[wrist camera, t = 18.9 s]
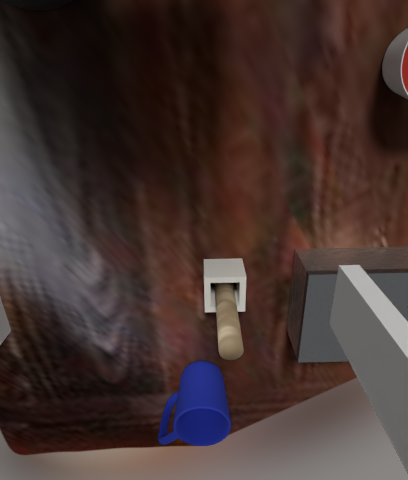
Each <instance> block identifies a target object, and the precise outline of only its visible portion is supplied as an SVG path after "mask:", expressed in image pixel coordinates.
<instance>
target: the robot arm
mask: <svg viewBox="0 0 408 480" xmlns="http://www.w3.org/2000/svg"><path fill="white" fill-rule="evenodd" d="M1 1H3V2H5V3H8V4H10V5H13V6H15V7H18V8H21V9H25V10H31V11H49V10H54V9H57V8H60V7H63V6H65V5H67V4H69V3H70V2H72V1H73V0H1ZM329 324H330V326H331V328H332V330H333V332H334V334H335V336H336V338H337V340H338V341H339V343H340V345H341V347H342V349H343V351H344V353H345V355H346V357H347V359H348V361H349V362H350V364H351V366H352V368H353V370H354V372H355V374H356V376H357V378H358V380H359V382H360V383H361V385H362V387H363V389H364V391H365V393H366V395H367V397H368V399H369V401H370V403H371V404H372V406H373V408H374V410H375V412H376V414H377V416H378V418H379V420H380V422H381V423H382V425H383V427H384V429H385V431H386V433H387V435H388V437H389V439H390V441H391V443H392V445H393V446H394V448H395V450H396V452H397V454H398V456H399V458H400V460H401V461H402V463H403V465H404V467H405V469H406V471H407V473H408V322H407V320H406V319H405V318H404V317H403V316H402V315H401V313H400V312H399V311H398V310H397V309H396V307H395V306H394V305H393V304H392V303H391V302H390V300H389V299H388V298H387V297H386V296H385V295H384V293H383V292H382V291H381V290H380V289H379V288H378V286H377V285H376V284H375V283H374V282H373V280H372V279H371V278H370V277H369V276H368V275H367V273H366V272H365V271H364V270H363V269H362V268H361V266H360V265H339V268H338V274H337V280H336V287H335V293H334V299H333V305H332V311H331V317H330V323H329ZM10 331H11V329H10V326H9V323H8V320H7V317H6V314H5V310H4V307H3V304H2V301H1V298H0V345H1V343H2V342H3V341H4V339H5V338H6V337H7V335H8V334H9V333H10Z"/></svg>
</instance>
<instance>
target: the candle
mask: <svg viewBox="0 0 408 480" xmlns="http://www.w3.org/2000/svg"><path fill="white" fill-rule="evenodd" d="M382 74H383V78H384V81H385V83H386V85H387V86H388V87H389V88H390V89H391V90H392V91H393V92H395V93H396V94H398V95H400V96H402V97H404V98H406V99H407V100H408V28H407V29H405V30H404V31H403V32H401V33H400V34H399V35H398V36H397V37H396V38H395V39H394V40H393V41H392V42H391V44H390V45H389V47H388V49H387V51H386V53H385V55H384V59H383V64H382Z"/></svg>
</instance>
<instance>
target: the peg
mask: <svg viewBox="0 0 408 480" xmlns="http://www.w3.org/2000/svg"><path fill="white" fill-rule="evenodd" d="M214 285H215V300H216V315H217V331H218V346H219V354H220V356H221V357H222V358H224V359H226V360H235V359H238V358H239V357H241V355H242V354H243V351H244V349H243V343H242V336H241V330H240V324H239V317H238V311H237V305H236V298H235V292H234V285H233V283H214Z"/></svg>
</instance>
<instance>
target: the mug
mask: <svg viewBox="0 0 408 480" xmlns="http://www.w3.org/2000/svg"><path fill="white" fill-rule="evenodd" d="M176 401H177V404H176V410H175V416H174V422H173V429H174V431H172V432H171V433H169V434H167V428H168V422H169V417H170V413H171V410H172V408H173V406H174V404H175V403H176ZM230 430H231V420H230V415H229V409H228V403H227V397H226V391H225V385H224V380H223V375H222V373H221V371H220V369H219V368H218V367H217V366H216V365H215V364H213V363H211V362H208V361H196V362H193V363H191V364H189V365H188V366H187V367H186V368H185V369H184V371H183V373H182V375H181V380H180V386H179V392H177V393H175V394H173V395H172V396H171V397H170V398H169V400H168V401H167V403H166V406H165V409H164V412H163V416H162V420H161V425H160V430H159V435H158V441H159V442H160V443H161V444H162V445H166V444H168V443H171V442H173V441H175V440H177V439H178V438H180V439H181V440H182V441H184V442H186V443H188V444H191V445H196V446H208V445H213V444H216V443H218V442H220V441H222V440H223V439H224V438H226V437H227V435H228V434H229V432H230Z"/></svg>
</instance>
